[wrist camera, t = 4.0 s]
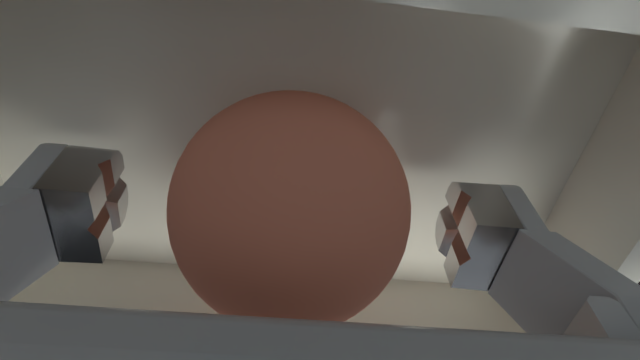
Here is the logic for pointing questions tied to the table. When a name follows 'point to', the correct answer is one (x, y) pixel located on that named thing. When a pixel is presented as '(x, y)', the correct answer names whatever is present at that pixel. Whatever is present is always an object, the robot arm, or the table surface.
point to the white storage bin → (357, 92)
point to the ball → (289, 209)
